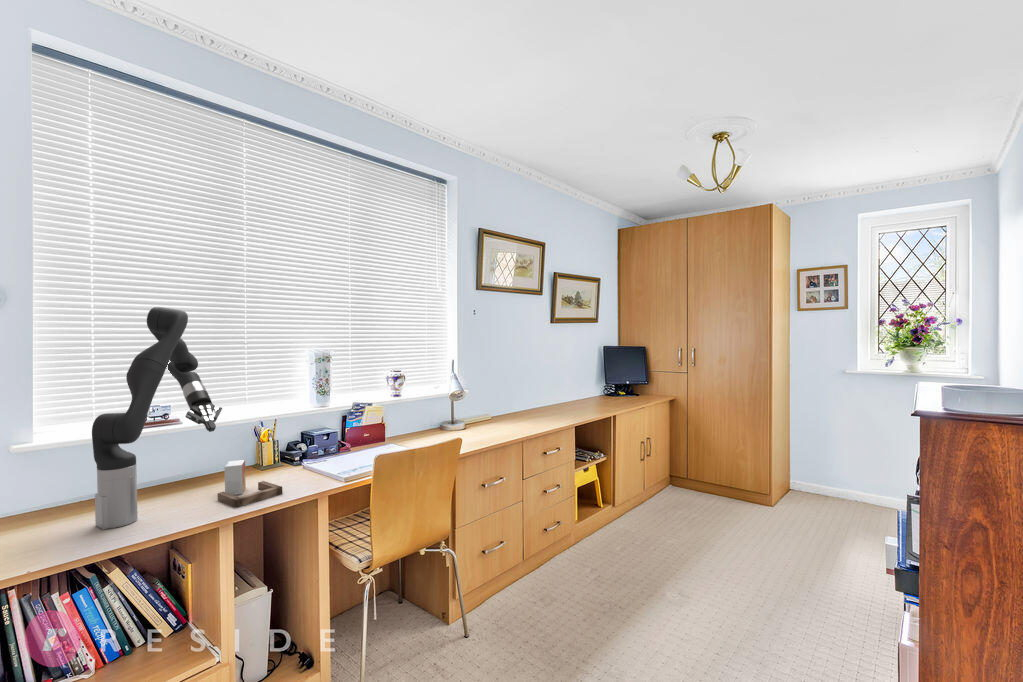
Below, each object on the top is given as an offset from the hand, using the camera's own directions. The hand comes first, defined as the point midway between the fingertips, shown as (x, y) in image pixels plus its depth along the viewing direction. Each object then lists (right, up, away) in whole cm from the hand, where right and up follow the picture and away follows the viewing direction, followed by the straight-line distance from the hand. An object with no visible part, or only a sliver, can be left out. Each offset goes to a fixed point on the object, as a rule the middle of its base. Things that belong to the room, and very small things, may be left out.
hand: (212, 430), depth 182 cm
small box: (+14, -21, -8) cm, 26 cm away
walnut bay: (+22, -21, -14) cm, 33 cm away
